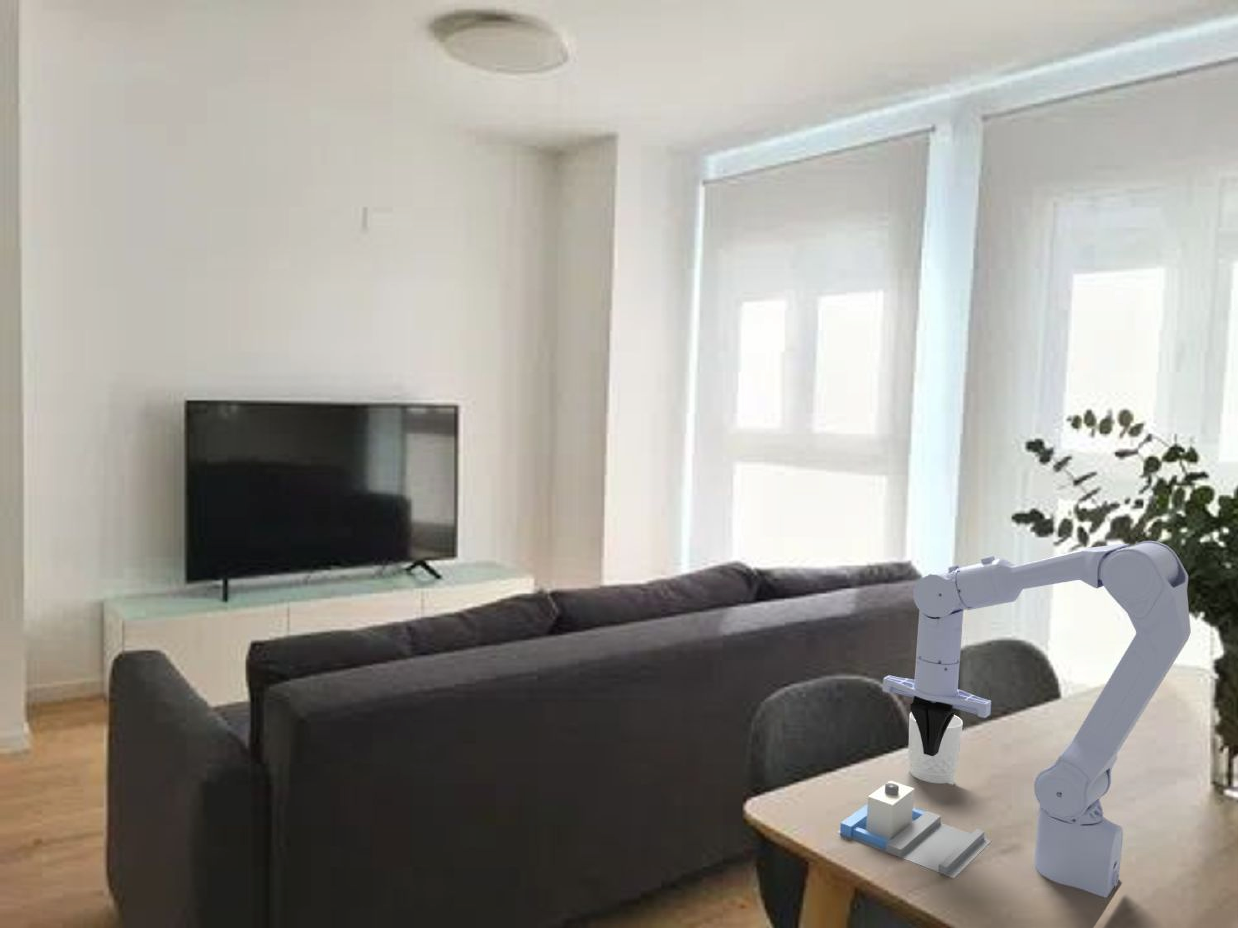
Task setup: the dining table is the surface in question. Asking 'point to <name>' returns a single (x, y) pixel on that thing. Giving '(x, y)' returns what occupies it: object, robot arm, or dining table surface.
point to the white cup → (944, 761)
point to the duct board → (922, 841)
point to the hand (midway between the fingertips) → (930, 753)
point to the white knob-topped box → (890, 809)
